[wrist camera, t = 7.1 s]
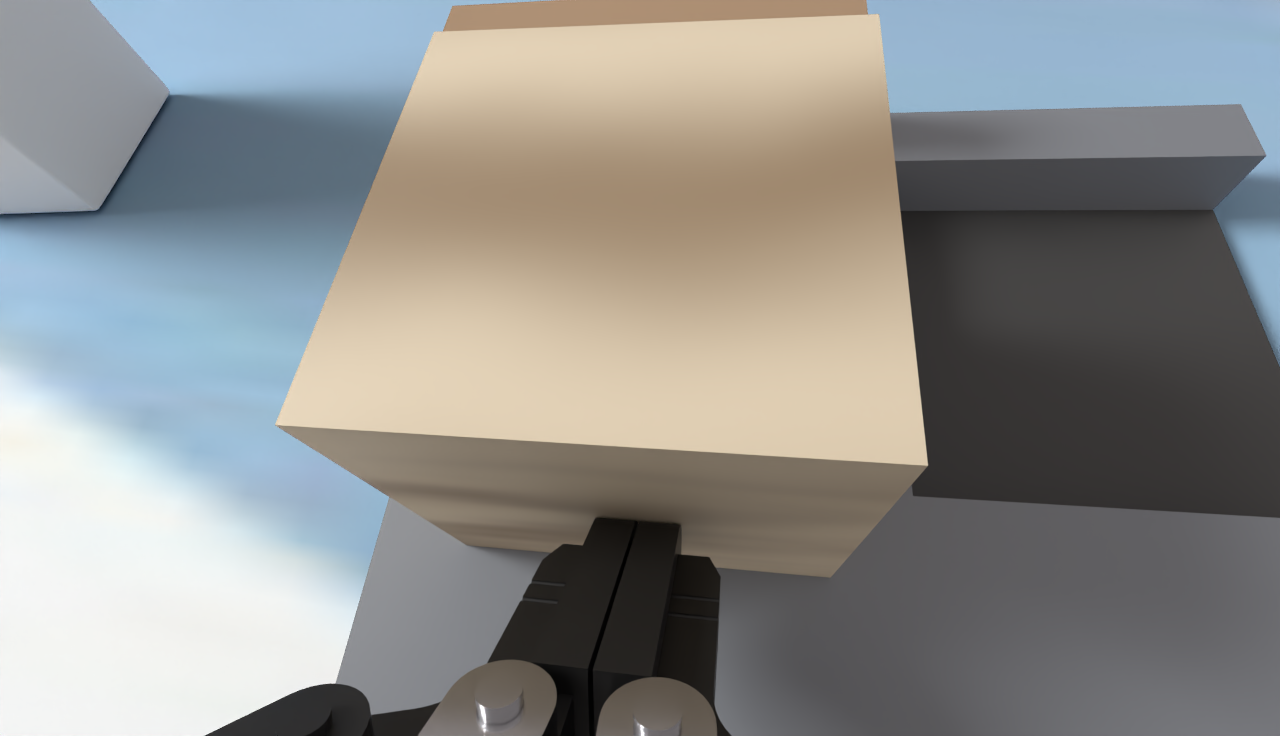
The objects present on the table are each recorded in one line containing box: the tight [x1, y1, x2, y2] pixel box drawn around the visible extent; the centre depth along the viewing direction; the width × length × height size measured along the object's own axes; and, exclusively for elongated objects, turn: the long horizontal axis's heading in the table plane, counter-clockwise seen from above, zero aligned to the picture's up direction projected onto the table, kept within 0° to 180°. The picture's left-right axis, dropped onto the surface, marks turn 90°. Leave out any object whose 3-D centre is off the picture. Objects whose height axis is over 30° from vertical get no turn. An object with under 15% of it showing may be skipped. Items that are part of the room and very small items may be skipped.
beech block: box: [275, 14, 928, 578], centre depth 12 cm, size 8×8×7 cm
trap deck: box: [336, 0, 1280, 736], centre depth 12 cm, size 28×22×6 cm
